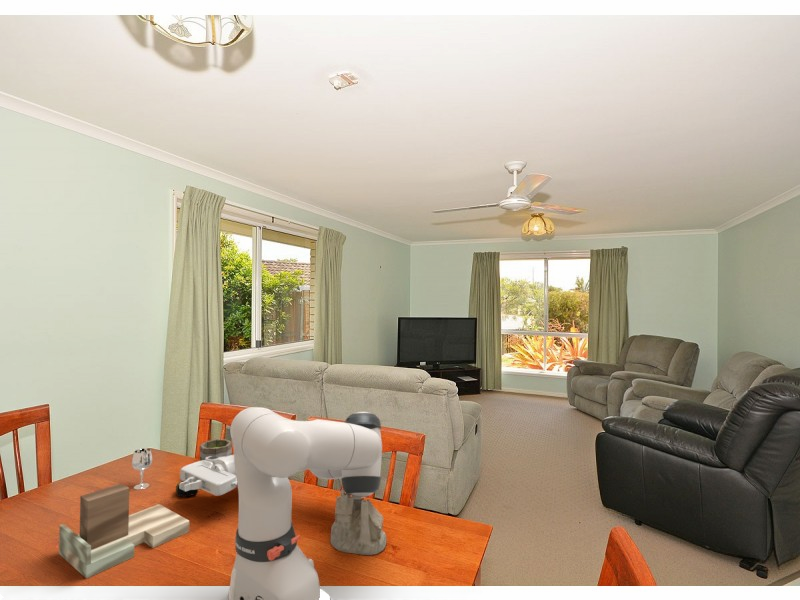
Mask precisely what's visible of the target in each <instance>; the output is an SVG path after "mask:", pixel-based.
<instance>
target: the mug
mask: <svg viewBox="0 0 800 600" xmlns="http://www.w3.org/2000/svg"><path fill="white" fill-rule="evenodd" d="M198 447H199V460H198V461H202V460H205V458H206V457H209V456H213V457H224V456H225V457H226V456H229V455H233V454H232V452H233V451H232V449H233V443H232V440H229V439H227V438H226V439H225V438H224V439H222V438H215V439H212V440H206V441H204V442H202V443H201V444H200V445H199V446H198Z"/></svg>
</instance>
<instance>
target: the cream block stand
mask: <svg viewBox="0 0 800 600" xmlns="http://www.w3.org/2000/svg"><path fill="white" fill-rule="evenodd" d="M189 532H190V520H189V519H187V518H185V517H184V516H181V515H180V514H178V513H176V512H174V511H172V510H170V509H169V508H168V507H165V506H164V505H162V504H159V503H158V504H155V505H152V506H150V507H148V508H145V509H142V510H139V511H137V512H134V513H132V514H129V526H128V535H127V536H125V537H122V538H120V539H117V540H115V541H113V542H110V543H108V544H105V545H103V546H100V547H98V548H95V549H93V550H91V545H89V544H88V543H87V542H86V541H84V540H83V539H82V538H81V537H79V536H80V533H79V534H77V533H76V532H74V531H73V530H72V529H70V527H68V526H67V525H65V524H64V523H63V524H60V525H59V534H58V536H59V538H58V539H59V540H58V555H59V556H61V557H62V558H63V559H64V560H65V561H66V562H67V563H69V564H70V565H71V566H72V567H73V568H74V569H75V570H77V572H79V573H80V575H82V576H83V577H84V578H85V579H86V580H87V579H89V578H91V577H93V576H95V575H98V574H100V573H101V572H104V571H106V570H109V569H111V568H113V567H115V566H117V565H120V564H121V563H123V562H126V561H128V560H131V559H133V558H134V557H135V547H137V546H139V545H142V544H143V543H144V544H146V545H148V546H149V547H150V548H152V549H154V548H157V547H159V546H161V545H164V544H165V543H168V542H170V541H172V540H174V539H177V538H179V537H181V536H183V535H186V534H187V533H189Z"/></svg>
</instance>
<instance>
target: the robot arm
mask: <svg viewBox="0 0 800 600" xmlns="http://www.w3.org/2000/svg"><path fill="white" fill-rule="evenodd" d="M381 429H382V426H381V420H380V419H379V417H378V416H377V415H376V414H375V413H371V412H368V411H357V412H355V413H351V414H349V415H348V416H347V418H346V419H345V421H344V422H343V421H333V420H327V419H320V418H317V419H314V420H295V419H291V418H287V417H284V416H282V415H280V414H278V413H277V412H274V411H273V410H271V409H269V408H266V407H262V406H261V407H260V406H253V407H251V406H250V407H247V408H245V409H243V410H241V411H240V412H238V414H236V415H235V417H234V418H233V419H232V421H231V424H230V428H229V431H230V432H229V433H230V434H229V435H230V437H231V442H232V449H233V454H232V455H229V456H226V457H225V456H224V457H213V456H209V457H206V458H205V460H202V461H199V460H198V461H194V462H192V463H189V464H186V465H184V466H182V467H181V468H180V471H179V478H180V481H184V482H181V483H180V484H179V488H180V489H181V490H184V491H189V490H195V489H198V490H202V491H205V492H207V493H209V494H211V495H214V496H217V497H218V496H222V495H224V494H226V493H229V492H231V491H232V490H234V489H236V488H237V491H238V492H237V493H238V515H237V516H238V517H237V518H238V519H237V520H238V522H237V524H238V526H237V527H238V528H237V529H236V531H235V539H234V544H235V548H234V549H235V553H236V556H235V560H234V563H233V567H232V569H231V575H230V583H229V591H228V596H229V599H228V598H227V600H319V598H320V589H323V588H322V586H320V579H319V575H318V572H317V570H316V568H315V563H314V560H313V559H312V558H308V557H307V556H306V555H305V554H304V553H303V551H302V550H301V548H300V546H299V545H298V542H299V541H300V540H301V538H300V536H301V535H300V534H297V535H296V531H295V527H294V524H293V522H292V508H293V507H292V505H293V503H292V502H293V500H292V497H293V490H292V484H291V481H290V480H289V477H293V476H294V475H295V474H297V473H298V472H301V471H306V470H309V471H310V472H311V473H312V474H313V475H314V476H315V477H317V478H318V479H323V480H337V479H339V480H341V487H342V489H344V490H345V493H347V494H350V496H351V497H352V496H354V497H361V498H365V497H366V498H367V497H369V496H372V495H373V494H375V493H377V492H378V491H379V489H380V485H381V480H382V478H381V472H382V471H381V468H382V453H383V443H382V434H381V433H382V432H381Z"/></svg>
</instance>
